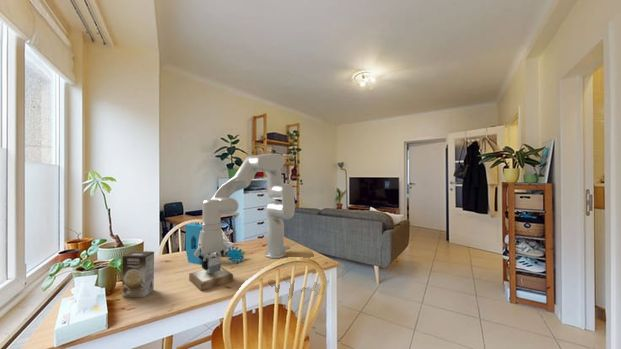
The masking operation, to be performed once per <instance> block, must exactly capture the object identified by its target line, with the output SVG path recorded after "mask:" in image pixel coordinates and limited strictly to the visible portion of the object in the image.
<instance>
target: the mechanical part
mask: <svg viewBox="0 0 621 349" xmlns="http://www.w3.org/2000/svg"><path fill="white" fill-rule="evenodd" d="M223 242H224V244H225V245H226V247H227V249H226V250H225V251H224V253H223V255H226V252H227V251H228V248H230V247H231V248H232V246H234V243H233V242H231V241H230V238H228V236H227V235H226V234H225V233H223ZM214 253H215V254H216V252H214Z"/></svg>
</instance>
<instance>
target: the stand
mask: <svg viewBox="0 0 621 349" xmlns="http://www.w3.org/2000/svg"><path fill="white" fill-rule="evenodd" d="M188 277H189V278H188V281H189V282H190V283H192V284H193V285H194V286H195V287H196V288H197V289H198V290H199V291H200V292H204V291H206V290H209V289H212V288H215V287H218V286H219V287H220V286H223V285H225V284H228V283H231V282H233V281H234V273H232V272H230V271H228V270H226V269H225V268H224V267H223V266H222V265H220V271H216V272H212V273H208V272H207V271H205V270H204V269H201V270H198V271H197V270H196V271H194V272H191V273H189V274H188Z"/></svg>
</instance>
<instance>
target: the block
mask: <svg viewBox="0 0 621 349" xmlns="http://www.w3.org/2000/svg"><path fill="white" fill-rule="evenodd" d="M201 230H202V223H198V222H197V223H196V222H191V223H186V224H185V252H186V258H187V259H186V260H187V262H188V263H190V264H196V265H202V260H201V259H200V258H199V257H197V256H195V255H194V253H195V251H196V250H197V249H198V242H199V235H200V231H201ZM199 254H200V255H202V253H201V252H199Z"/></svg>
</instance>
